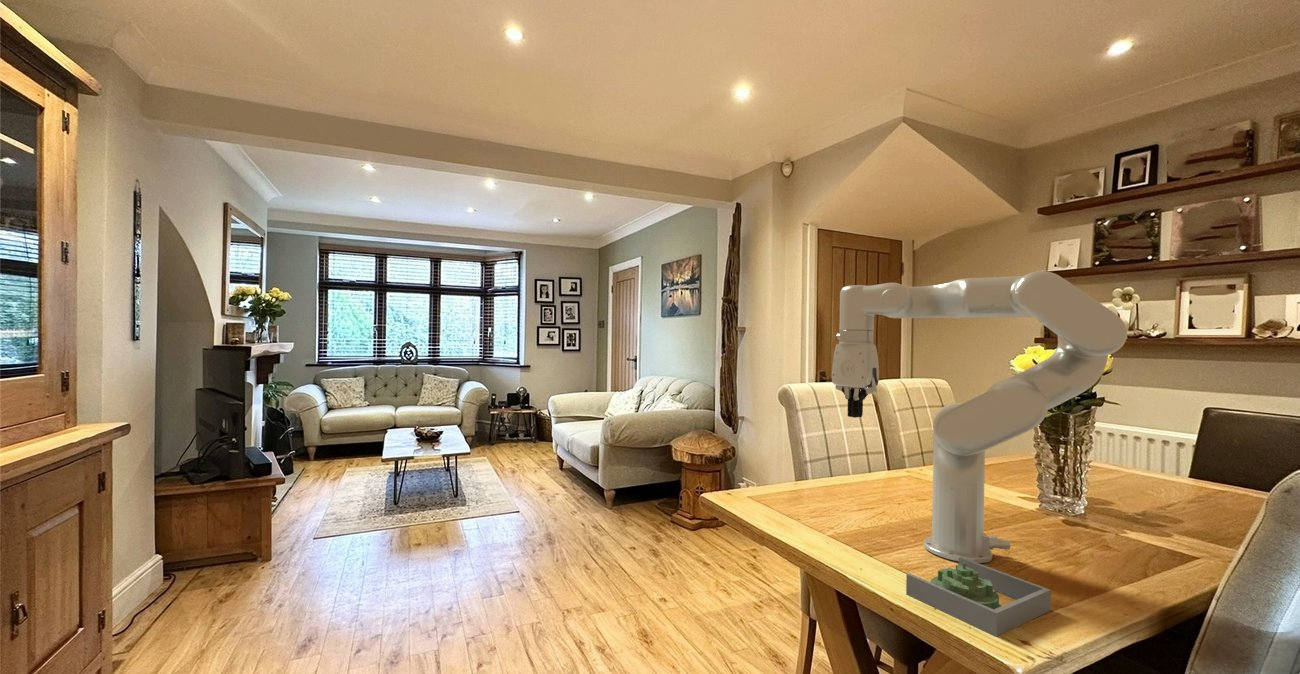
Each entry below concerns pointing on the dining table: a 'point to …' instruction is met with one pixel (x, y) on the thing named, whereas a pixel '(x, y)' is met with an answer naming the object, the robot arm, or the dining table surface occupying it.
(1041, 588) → the box
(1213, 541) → the dining table surface
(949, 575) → the decorative artifact
